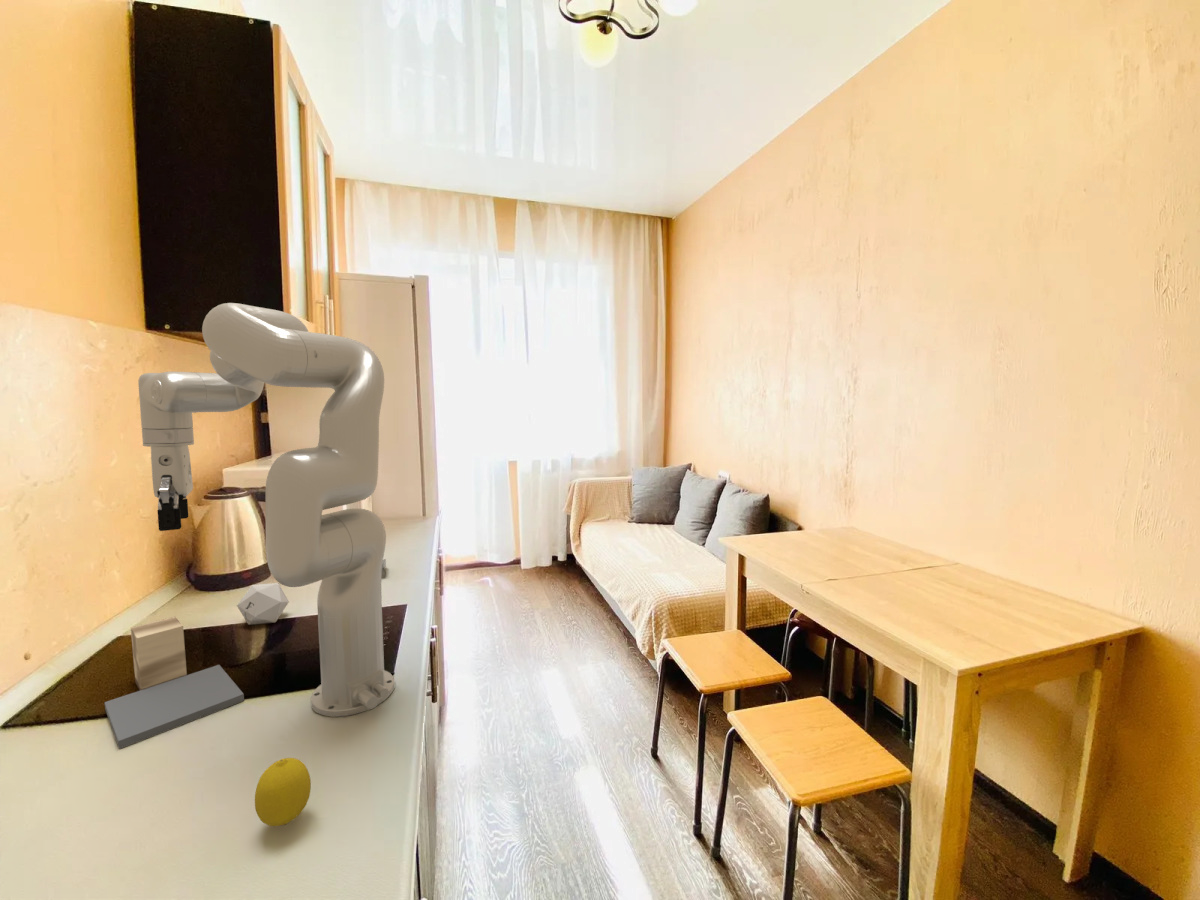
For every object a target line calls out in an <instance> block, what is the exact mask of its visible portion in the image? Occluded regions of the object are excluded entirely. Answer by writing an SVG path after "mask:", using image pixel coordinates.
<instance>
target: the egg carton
mask: <svg viewBox="0 0 1200 900" xmlns="http://www.w3.org/2000/svg"><path fill="white" fill-rule="evenodd" d="M386 567H387V560H386V558H383V563H382V572H381V580H382V579H383V578H386Z"/></svg>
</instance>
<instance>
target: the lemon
mask: <svg viewBox="0 0 1200 900" xmlns="http://www.w3.org/2000/svg"><path fill="white" fill-rule="evenodd" d="M311 783H312V782H311V776H310V773H309V771H308V768H307V766H306V764H305V763H304V762H303V761H302V760H300V759H298V758H294V757H285V758H281V759H279V760H276V761H274V762H273V763H272V764H271V765H269V767H267V768H266V769H265V770H264V772H263V773H262V774H261V775H260V777H259V780H258V782H257V785H256V787H255V793H254V808H255V813H256V815H257V817H258V818H259V820H260V821H261V822H262V823H263V824H265V825H267V826H270V827H279V826H280V827H281V826H286V825H288V824H289V823H291V822H292V821H294V820H296V819H297V817H298V816H299V815H301V813H302V812H303V810H304V809H305V807H306V806H307V804H308V801H309V799H310V796H311V789H312V788H311Z"/></svg>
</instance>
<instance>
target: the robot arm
mask: <svg viewBox="0 0 1200 900" xmlns="http://www.w3.org/2000/svg"><path fill="white" fill-rule="evenodd" d="M201 330H202V331H201V332H202V333H201V334H202V337H203V338H202V339H203V340H204V344H205V345H206V346H207V349H208V350H209V352H210V353H209V362H210V363H211V367H212V369H213V370H214V371H215V372H216V373H213V372H197V371H196V372H195V371H194V372H192V371H164V372H146V373H143V374H141V375H140V376H139V378H138V384H137V385H138V395H139V397H138V400H139V409H140V410H139V411H140V420H141V421H140V423H141V424H140V425H141V434H142V435H141V436H142V438H141V439H142V446H143V447H150V459H151V461H150V463H151V478H152V490H153V494H154V497H156V498H158V500H157V501H158V502H157V511H156V512H157V521H158V523H157V524H158V525H157V526H158V531H159V532H166V531H167V532H168V531H175V530H181V528H182V520H183V519H188V518H189V504H188V503H189V502H188V498H187V497H188V495H190V494H191V492H192V491H193V489H194V484H193V483H194V482H193V476H192V475H193V474H192V464H191V463H192V462H191V455H190V449H189V446H191V445H192V446H193V445H194V444H195V438H194V427H193V426H194V424H193V414H194V413H196V414H197V413H225V412H226V413H228V412H229V413H230V412H235V411H237V410H240V409H242V408H245V407H246V406H248V405H250V404H251V403H253V402H255V401H257V400H258V399H259V398H260V396H261V394H262V392H263V390H264V386H265V384H267V385H270V386H275V387H286V388H315V389H316V388H325V389H326V388H327V389H328V388H329V389H332V390H333V391H334V392H333V393H332V395H330V396H329V398H328V399H327V401H326V402H325V404H324V406H323V408H322V411H321V414H320V416H319V426H318V427H319V435H318V443H317V446H315V447H307V448H306V447H305V448H297V449H292V450H290V451H287V452H284V453H283V454H281V455H280V456H279V457H276V459H275V460H274V461H273V463H272V464H271V466H270V467H269V471H268V473H267V475H266V476H267V477H266V481H265V554H266V561H267V562H266V563H267V565H268V566H267V567H268V569H269V572H270V574H271V575H272V577H273V579H275V580H276V581H277V583H279V585H280V584H281V585H282V586H285V587H289V588H299V587H304V586H307V585H310V584H311V585H312V584H313V583H317V582H319V581H321V582H320V585H319V588H318V591H317V592H318V593H317V601H316V602H317V604H316V605H317V625H318V645H319V665H320V683H321V684H319V685H318V686H317V687H316V688H315V689H314V691H313V692H312V694H311V696H310V704H311V708H312V709H313V711H314V712H316V713H317V714H320V715H323V716H327V717H344V716H351V715H356V714H359V713H363V712H365V711H368V710H372V709H374V708H376V707H377V706H378V705H380V704H381V703H383V702H384V701H385V700H386V699H387V698H388V697H390V695H391V694H392V693H393V691H394V689H395V678H394V676H393V675H392V674H391V672H390V671H387V670H385V659H384V656H385V655H384V654H385V653H384V639H383V638H384V633H383V632H384V629H383V627H384V626H383V605H382V604H383V603H382V601H383V600H382V596H383V595H382V579H381V572H382V563H383V559H384V555H385V550H386V544H387V533H386V528H385V526H384V522H383V521H382V519H381V517H380V516H378V515H377V513H375V512H373V511H371V510H368V509H365V508H357V507H356V508H347V509H343V510H338V511H333V512H330V513H329V512H328V513H326V514H323V511H325V510H329V509H334V508H338V507H341V506H346V505H351V504H354V503H359V502H360V501H364V500H366V499H368V498H369V497H371V496H372V495H373V494H374V492H375V490H376V488H377V484H378V479H379V478H378V477H379V476H378V475H379V448H380V447H379V446H380V444H379V443H380V417H381V416H380V415H381V408H382V403H383V397H384V391H385V373H384V367H383V366H382V363H381V361H380V358H378V356H377V354H376V352H375V351H373V350H372V348H370V347H369V346H368V345H366V344H364V343H362V342H360V341H357V340H355V339H352V338H348V337H345V336H341V335H334V334H327V333H321V332H312V331H309V330H308V327H307V326H306V325H305V324H304V323H303V322H302V320H301V319H299V318H298V317H296V316H294V315H293V314H290V313H289V312H285V311H281V310H278V309H277V310H276V309H272V308H265V307H261V306H260V307H259V306H254V305H249V304H245V303H243V304H242V303H235V302H227V303H226V302H225V303H221V304H218V305H217V306H215V307H212V308H211V310H209V312H208V313H207V314H206V315H205V317H204V319H203V322H202V327H201Z"/></svg>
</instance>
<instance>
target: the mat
mask: <svg viewBox="0 0 1200 900" xmlns="http://www.w3.org/2000/svg"><path fill="white" fill-rule="evenodd" d="M244 701H245V695H244V692H243V691H242V690H241V688H240V687H239V686H238V685H237V684H236V683H235V682H234V680H233V679H232V678H231V677H230V676H229V674H228V673H227V672H226V671H225V670H224V669H223V667H222V666H221V665H220V664H217V665H214V666H210V667H207V668H205V669H204V668H203V669H202V670H199V671H195V672H192V673H190V674H187V675H186V676H183V677H180V678H177V679H174V680H171V681H168V682H165V683H162V684H158V685H155V686H152V687H149V688H146V689H143V690H137V691H135V692H131V693H128V694H125V695H122V696H119V697H116V698H114V699H110V700H108V701H105V702H104V710H105V713H106V715H107V718H108V721H109V724H110V728H111V730H112V732H113V735H114V738H115V741H116V744H117V746H118V749H119V750H121V749H123V748H125V747H128V746H131V745H133V744H136V743H138V742H140V741H144V740H146V739H148V738H149V739H150V738H152V737H154V736H156V735H159V734H162V733H164V732H167V731H169V730H173V729H174V728H177V727H180V726H183V725H186V724H188V723H190V722H193V721H195V720H198V719H200V718H201V719H202V718H204V717H206V716H208V715H211V714H214V713H216V712H219V711H221V710H224V709H226V708H229V707H231V706H232V707H233V706H235V705H238V704H240V703H242V702H244Z"/></svg>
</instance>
